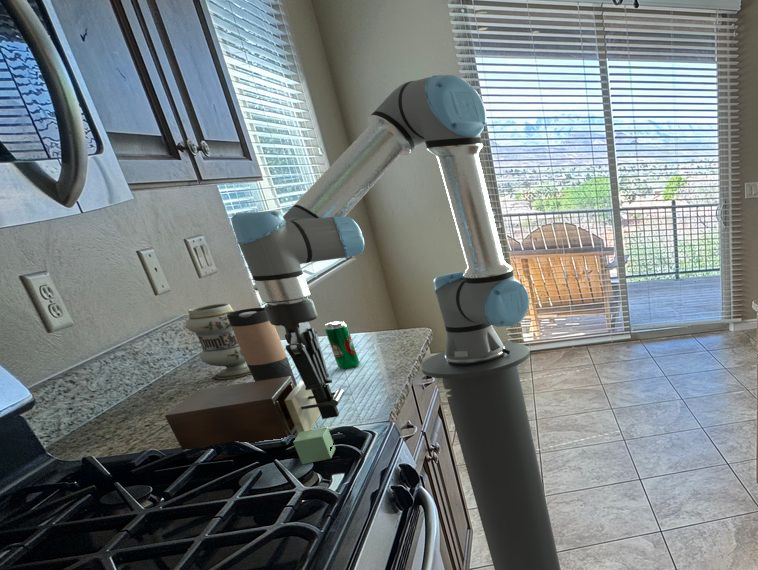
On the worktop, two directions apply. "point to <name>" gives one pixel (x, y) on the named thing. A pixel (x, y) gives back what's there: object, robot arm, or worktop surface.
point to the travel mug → (260, 344)
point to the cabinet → (230, 415)
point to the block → (314, 445)
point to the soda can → (341, 345)
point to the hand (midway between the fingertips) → (331, 416)
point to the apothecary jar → (217, 340)
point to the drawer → (301, 407)
